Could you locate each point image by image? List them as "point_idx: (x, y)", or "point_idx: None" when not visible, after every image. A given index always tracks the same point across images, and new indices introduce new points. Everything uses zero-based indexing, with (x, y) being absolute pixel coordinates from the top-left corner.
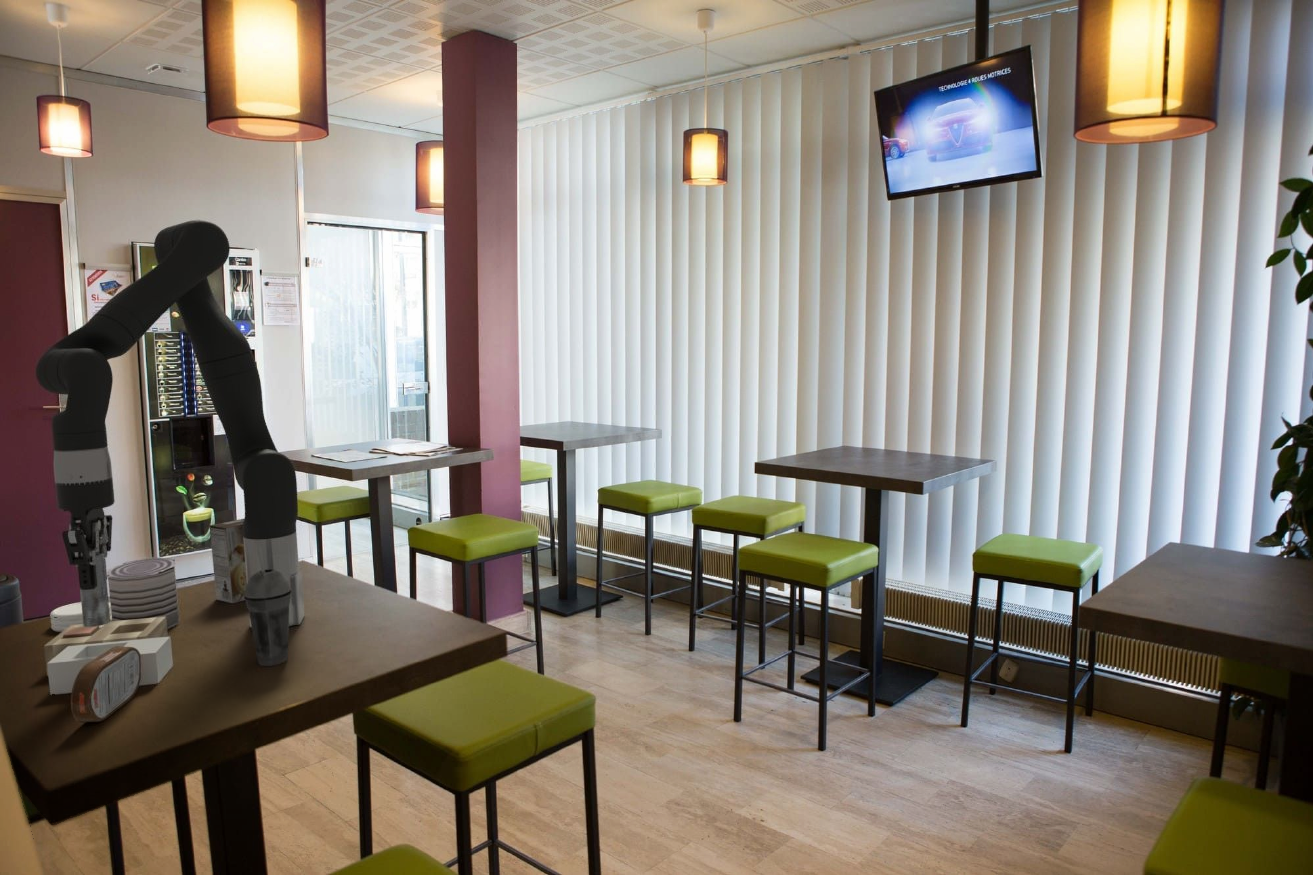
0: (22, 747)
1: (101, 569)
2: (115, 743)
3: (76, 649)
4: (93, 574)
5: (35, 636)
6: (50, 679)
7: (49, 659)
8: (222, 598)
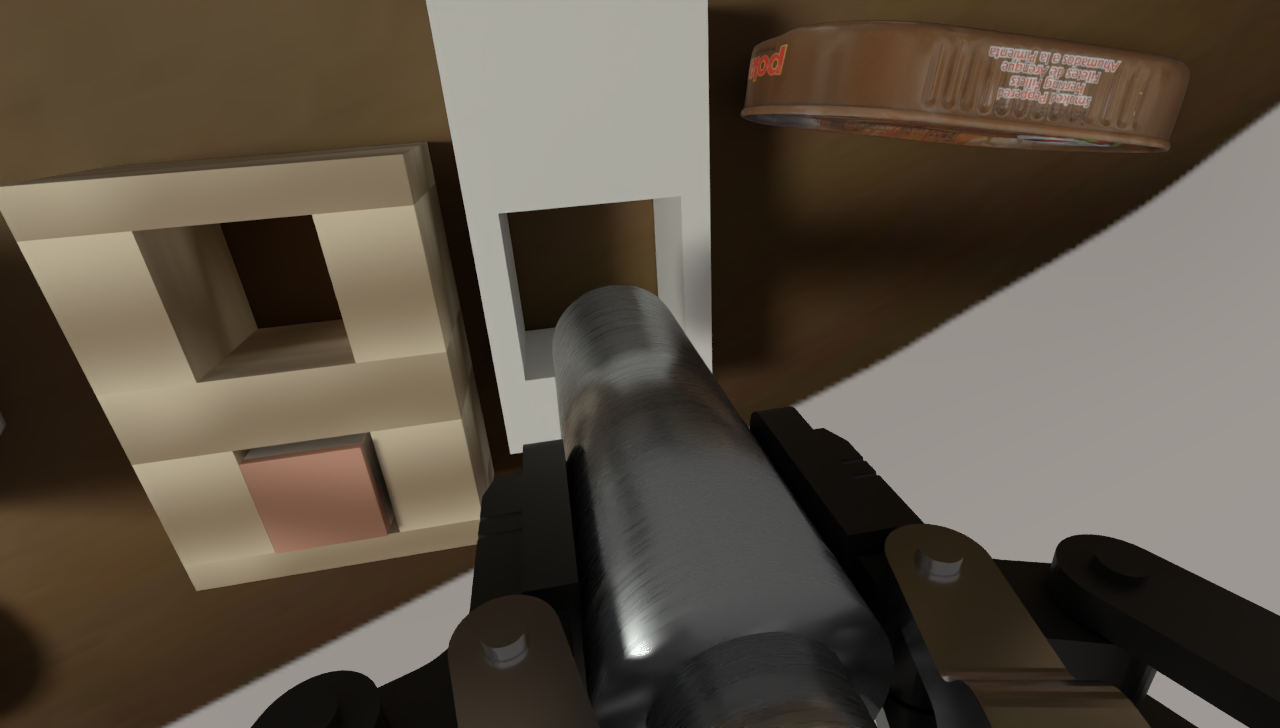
0: (1065, 246)
1: (754, 470)
2: None
3: None
4: (842, 476)
5: (57, 718)
6: None
7: None
8: None
